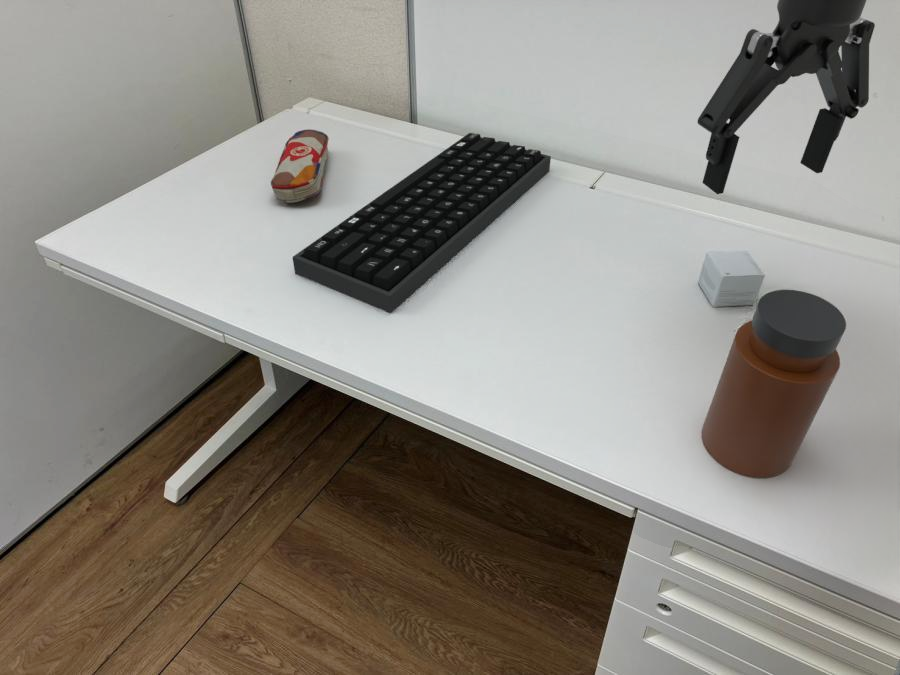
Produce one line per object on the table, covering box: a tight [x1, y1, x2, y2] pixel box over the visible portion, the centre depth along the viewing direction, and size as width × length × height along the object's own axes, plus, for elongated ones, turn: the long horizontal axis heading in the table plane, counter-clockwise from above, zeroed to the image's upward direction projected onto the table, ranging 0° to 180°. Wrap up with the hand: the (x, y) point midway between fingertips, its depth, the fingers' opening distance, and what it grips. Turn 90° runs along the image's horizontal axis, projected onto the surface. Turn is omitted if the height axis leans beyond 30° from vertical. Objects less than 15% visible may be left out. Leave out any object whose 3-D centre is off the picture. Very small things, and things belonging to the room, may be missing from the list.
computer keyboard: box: [291, 132, 552, 314], centre depth 104 cm, size 45×16×4 cm, turn 148°
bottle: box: [701, 289, 847, 479], centre depth 67 cm, size 9×9×17 cm
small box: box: [697, 250, 766, 308], centre depth 90 cm, size 6×6×5 cm
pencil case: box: [270, 128, 330, 204], centre depth 113 cm, size 11×20×5 cm, turn 167°
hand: (762, 177), depth 79 cm, fingers open, 13 cm apart
